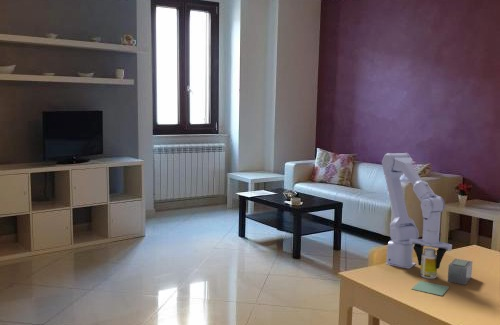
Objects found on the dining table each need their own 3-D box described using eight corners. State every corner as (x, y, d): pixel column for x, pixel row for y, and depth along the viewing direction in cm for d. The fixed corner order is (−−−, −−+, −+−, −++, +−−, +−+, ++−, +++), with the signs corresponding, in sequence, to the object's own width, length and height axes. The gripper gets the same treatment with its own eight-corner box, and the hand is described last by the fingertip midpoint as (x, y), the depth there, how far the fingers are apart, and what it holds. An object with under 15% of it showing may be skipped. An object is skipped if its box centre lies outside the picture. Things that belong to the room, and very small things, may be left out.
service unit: (447, 281, 180) (448, 264, 179) (454, 273, 188) (455, 257, 188) (465, 285, 177) (466, 267, 176) (471, 277, 185) (472, 260, 184)
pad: (411, 289, 171) (411, 288, 171) (420, 281, 179) (420, 280, 179) (442, 296, 166) (442, 295, 166) (449, 287, 174) (449, 286, 174)
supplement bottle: (439, 278, 183) (441, 250, 182) (428, 280, 181) (430, 252, 180) (428, 273, 188) (429, 246, 187) (416, 275, 186) (418, 248, 185)
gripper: (407, 228, 183) (405, 265, 185) (449, 235, 175) (447, 273, 177) (413, 225, 189) (411, 260, 191) (454, 231, 181) (451, 268, 183)
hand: (428, 266), depth 184 cm, fingers closed on supplement bottle, 6 cm apart
